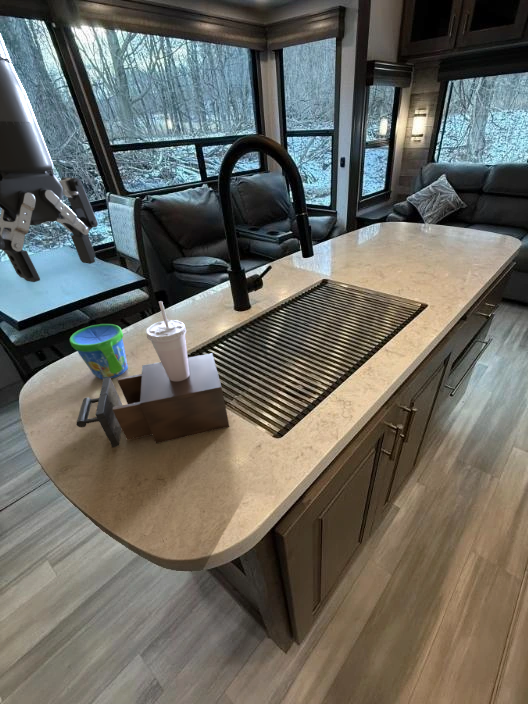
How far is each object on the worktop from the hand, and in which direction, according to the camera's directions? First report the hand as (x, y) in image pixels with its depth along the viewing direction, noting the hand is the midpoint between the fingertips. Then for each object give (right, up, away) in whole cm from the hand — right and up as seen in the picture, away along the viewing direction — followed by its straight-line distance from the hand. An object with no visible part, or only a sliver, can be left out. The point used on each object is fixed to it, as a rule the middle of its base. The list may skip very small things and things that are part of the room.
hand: (62, 271), depth 46 cm
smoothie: (+11, -14, +16) cm, 23 cm away
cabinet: (+11, -21, +21) cm, 32 cm away
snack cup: (-13, -11, +34) cm, 38 cm away
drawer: (+2, -22, +18) cm, 29 cm away
